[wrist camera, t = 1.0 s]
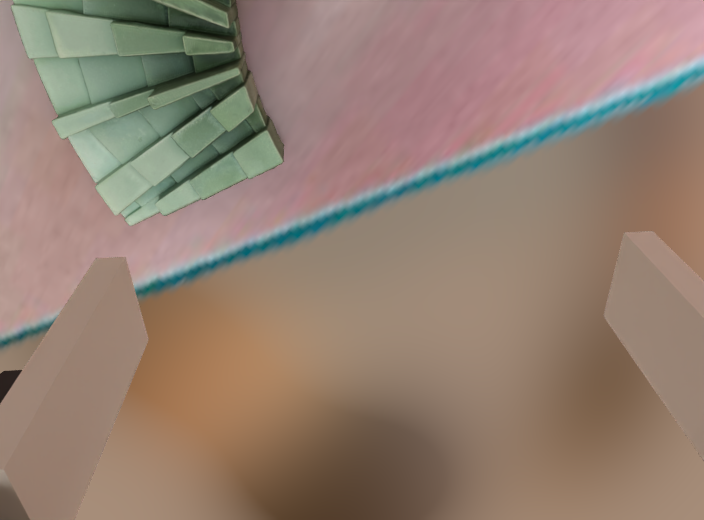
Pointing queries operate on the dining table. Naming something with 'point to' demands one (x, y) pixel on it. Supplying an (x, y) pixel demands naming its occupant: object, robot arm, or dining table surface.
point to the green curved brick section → (151, 97)
